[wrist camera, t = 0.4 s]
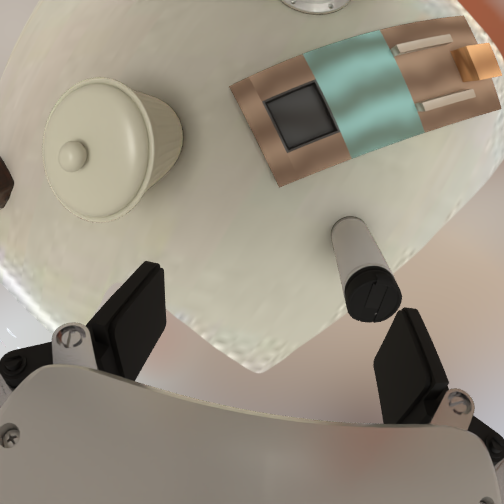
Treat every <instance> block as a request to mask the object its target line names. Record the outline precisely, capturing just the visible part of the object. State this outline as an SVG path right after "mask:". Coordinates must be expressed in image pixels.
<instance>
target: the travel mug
mask: <svg viewBox="0 0 504 504" xmlns="http://www.w3.org/2000/svg"><path fill="white" fill-rule="evenodd" d="M331 239H332V243H333V248H334V252H335V256H336V261H337V265H338V270H339V274H340V279H341V284H342V289H343V293H344V297H345V301H346V306H347V310H348V313H349V314H350V316H351V317H352V318H353V319H356V320H358V321H359V320H360V321H362V322H374V323H375V322H381V321H384V320H386V319H388V318H389V317H391V316H392V315H393V314H394V313H395V312H396V311H397V310H398V308H399V306H400V304H401V300H402V295H401V291H400V289H399V287H398V285H397V283H396V281H395V278H394V276H393V274H392V272H391V270H390V268H389V266H388V264H387V262H386V260H385V258H384V256H383V255H382V253H381V251H380V249H379V247H378V245H377V243H376V242H375V240H374V238H373V236H372V234H371V233H370V231H369V229H368V227H367V226H366V224H365V223H364V222H363V221H362V220H361V219H359V218H356V217H345V218H342V219H341V220H339V221H338V222H337V223H336V224H335V225H334V227H333V229H332V232H331Z"/></svg>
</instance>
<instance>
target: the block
mask: <svg viewBox="0 0 504 504" xmlns="http://www.w3.org/2000/svg"><path fill="white" fill-rule="evenodd" d="M450 52H451V54H452V57H453V59H454V61H455V63H456V66H457V68H458V71H459V73H460V76H461V78H462V81H463V82H469V81H477V80H483V79H488V78H492V77H497V76H502V73H501V71H500V68H499V65H498V63H497V60H496V58H495V55H494V53H493V51H492V48H491V46H490V44H489V43H484V44H476V45H470V46H465V47H462V48H459V49H456V50H453V51H450Z"/></svg>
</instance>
